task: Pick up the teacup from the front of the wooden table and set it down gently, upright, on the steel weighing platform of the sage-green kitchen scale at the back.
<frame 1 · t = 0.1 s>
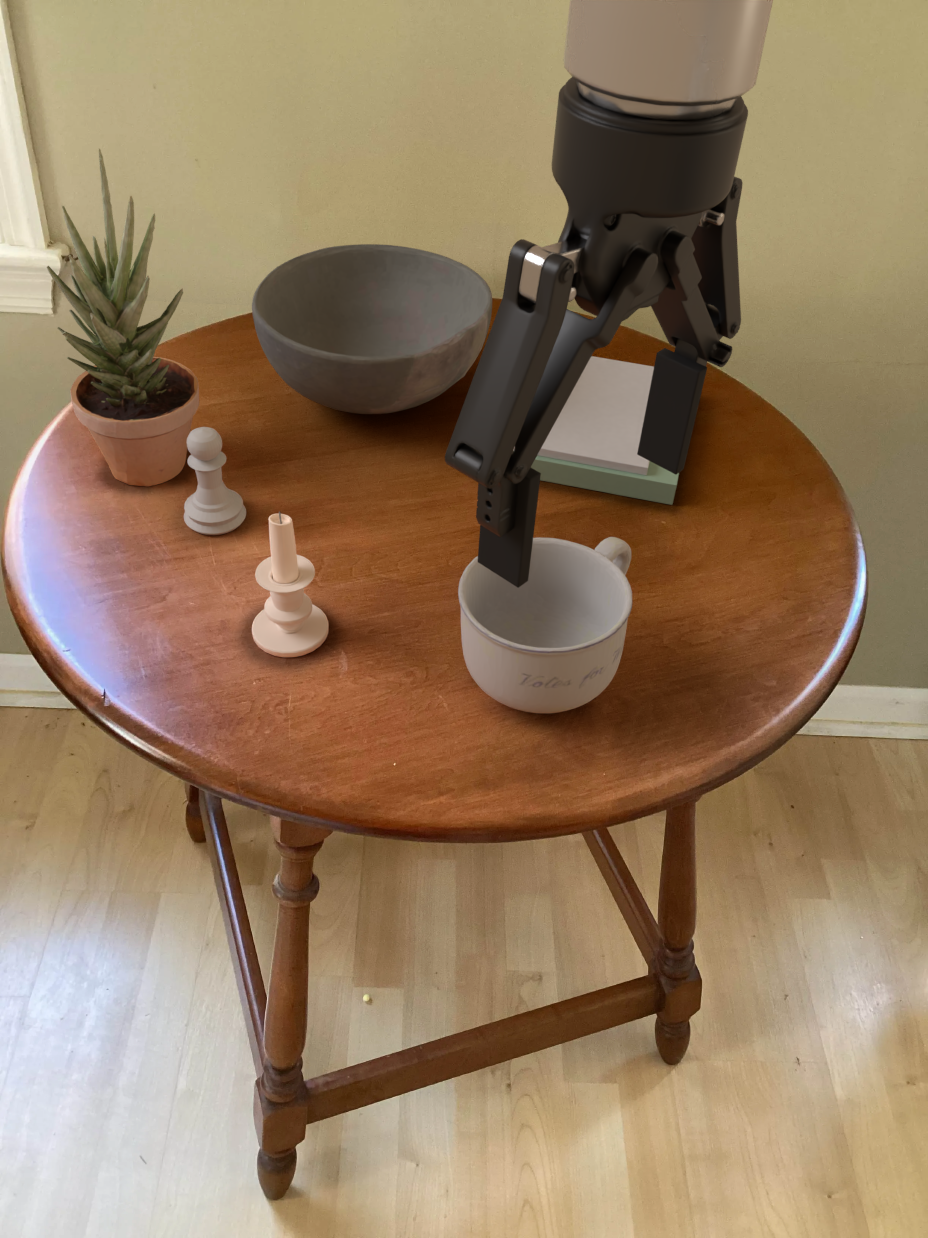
hand: (586, 513, 56), 17 cm above the table, tool pointing down, fingers open, 13 cm apart
potted plant: (150, 464, 85), on the table
bowl: (373, 394, 95), on the table
candle: (290, 633, 72), on the table
chess piece: (215, 519, 81), on the table
scale: (591, 431, 92), on the table
teacup: (551, 667, 71), on the table
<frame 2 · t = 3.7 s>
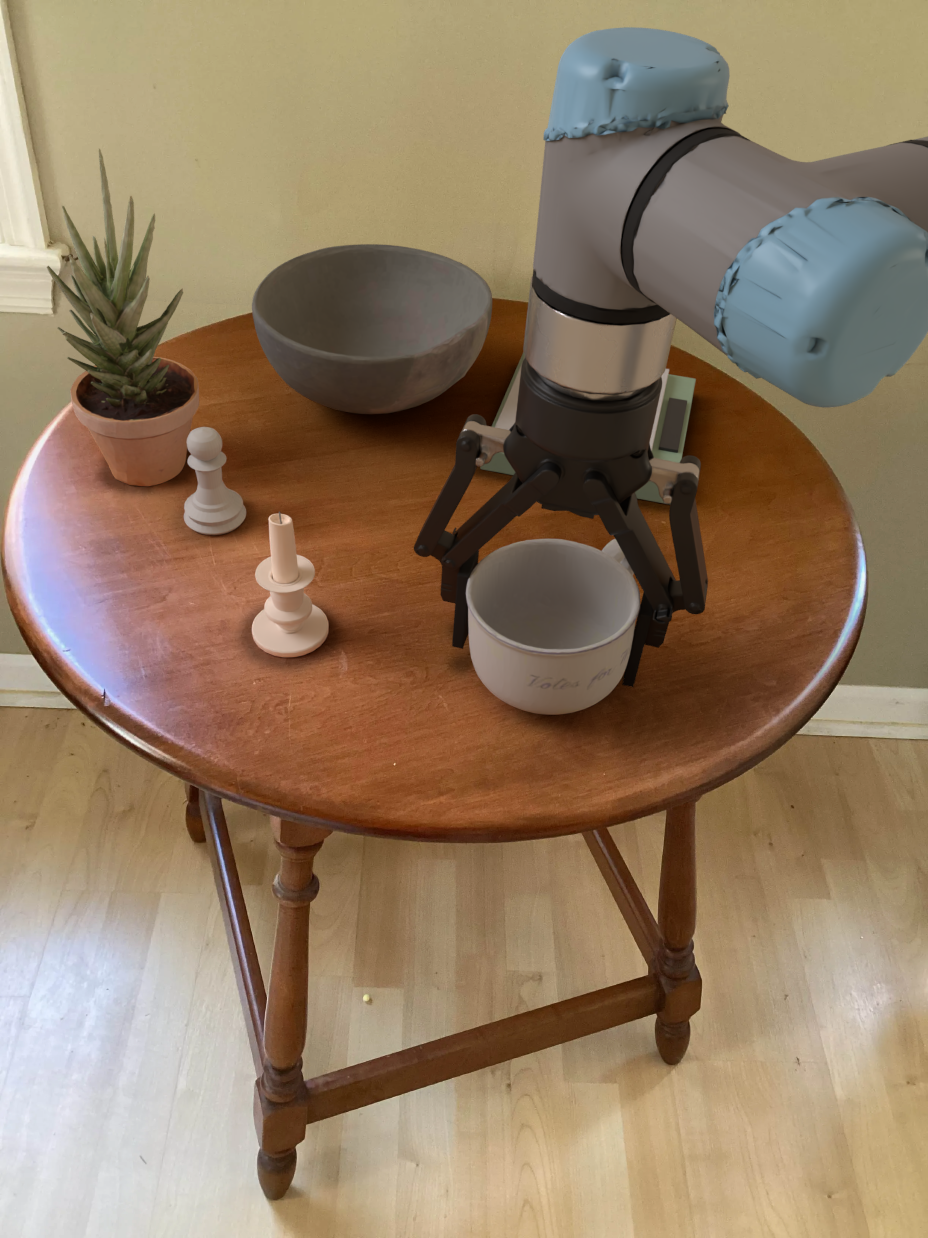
hand: (545, 652, 70), 1 cm above the table, tool pointing down, fingers closed on teacup, 11 cm apart
teacup: (558, 668, 71), on the table, touching gripper
everything else where it was.
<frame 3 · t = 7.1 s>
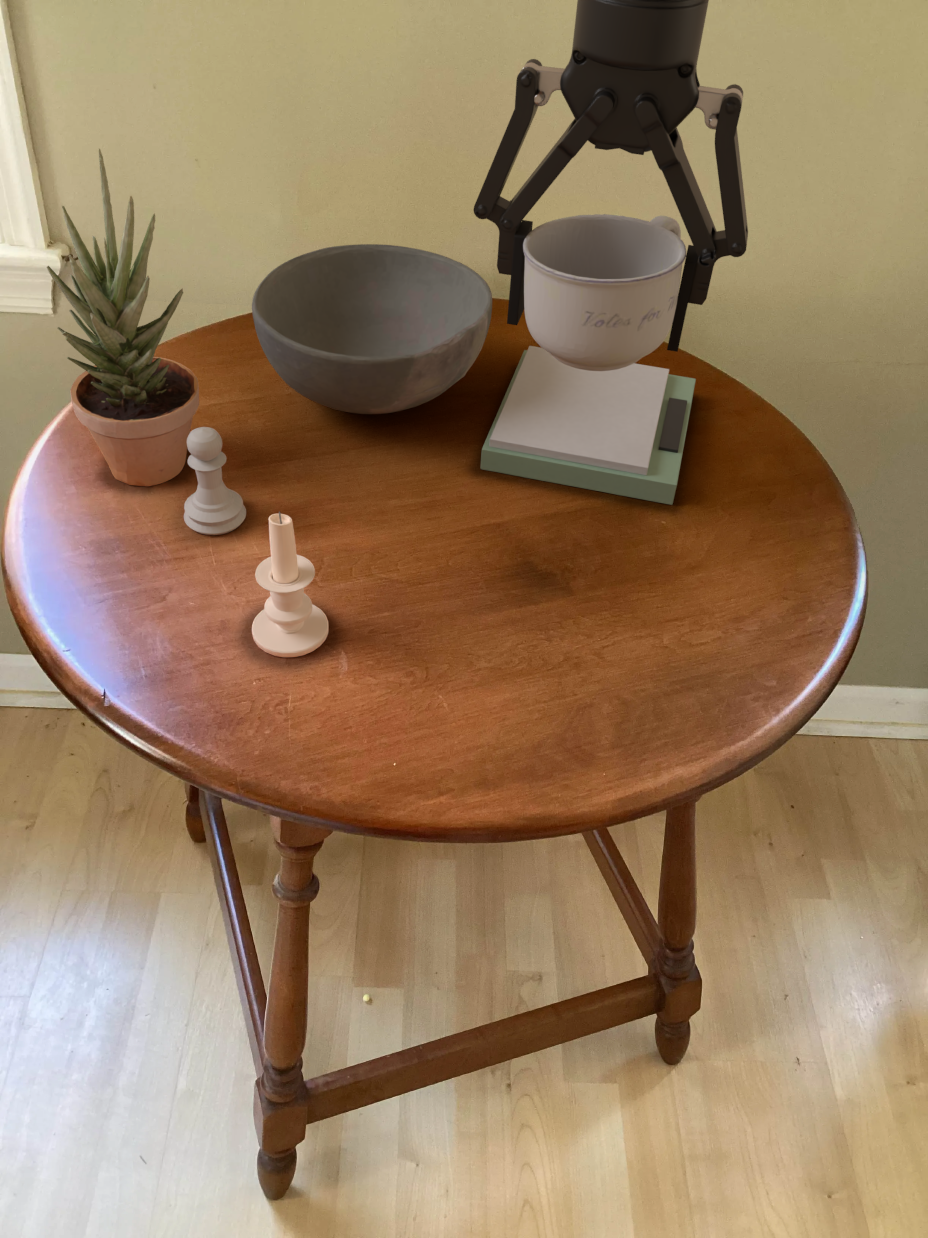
hand: (594, 328, 75), 14 cm above the table, tool pointing down, fingers closed on teacup, 11 cm apart
teacup: (606, 345, 76), point 13 cm above the table, touching gripper
everything else where it was.
when the fingers open (4 cm above the table, at t = 10.8 s): teacup stays where it is, resting on scale.
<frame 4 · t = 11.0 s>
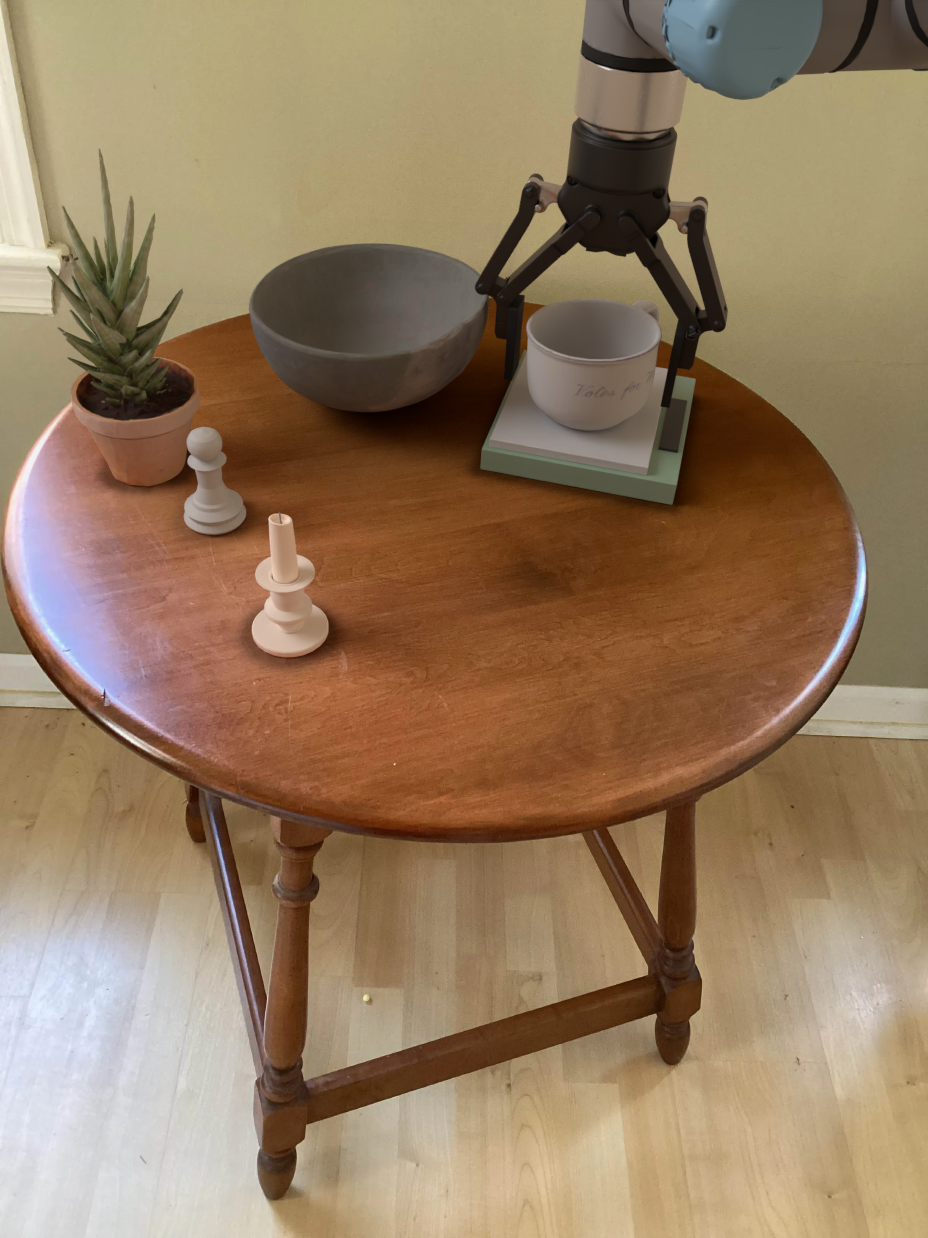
hand: (587, 385, 89), 4 cm above the table, tool pointing down, fingers open, 13 cm apart
bowl: (373, 393, 95), on the table, touching gripper
teacup: (596, 406, 90), point 3 cm above the table, touching scale
everything else where it was.
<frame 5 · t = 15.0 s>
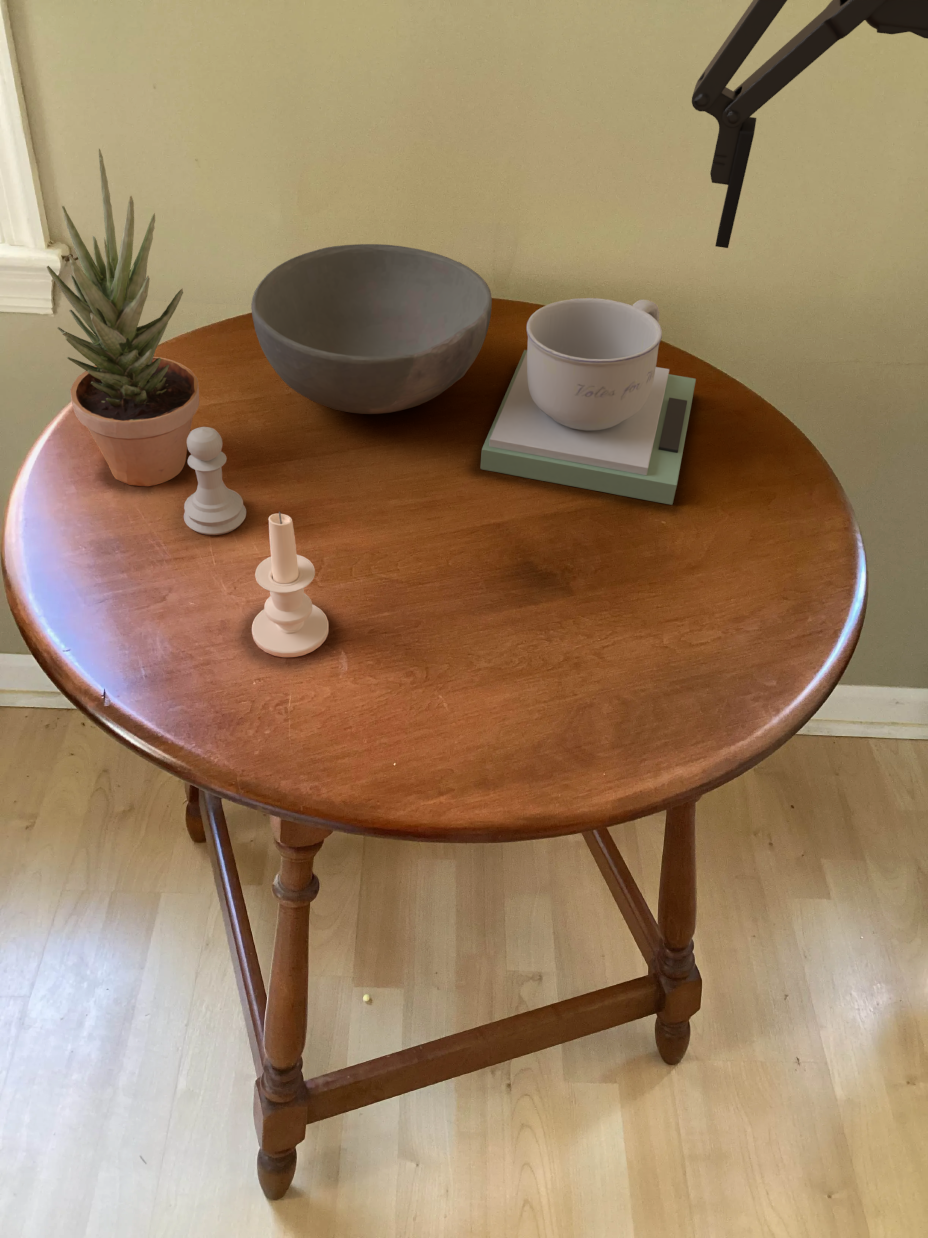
hand: (838, 255, 62), 25 cm above the table, tool pointing down, fingers open, 13 cm apart
bowl: (373, 394, 95), on the table
everything else where it was.
at the end: teacup inside the target area on the scale (1.1 cm from its centre), point 2.6 cm above the scale's base; teacup tilted 0°; the gripper is holding nothing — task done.
